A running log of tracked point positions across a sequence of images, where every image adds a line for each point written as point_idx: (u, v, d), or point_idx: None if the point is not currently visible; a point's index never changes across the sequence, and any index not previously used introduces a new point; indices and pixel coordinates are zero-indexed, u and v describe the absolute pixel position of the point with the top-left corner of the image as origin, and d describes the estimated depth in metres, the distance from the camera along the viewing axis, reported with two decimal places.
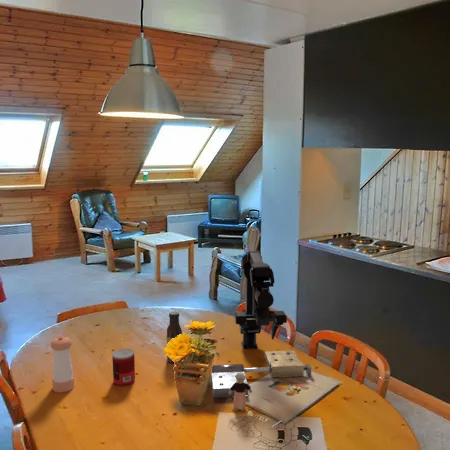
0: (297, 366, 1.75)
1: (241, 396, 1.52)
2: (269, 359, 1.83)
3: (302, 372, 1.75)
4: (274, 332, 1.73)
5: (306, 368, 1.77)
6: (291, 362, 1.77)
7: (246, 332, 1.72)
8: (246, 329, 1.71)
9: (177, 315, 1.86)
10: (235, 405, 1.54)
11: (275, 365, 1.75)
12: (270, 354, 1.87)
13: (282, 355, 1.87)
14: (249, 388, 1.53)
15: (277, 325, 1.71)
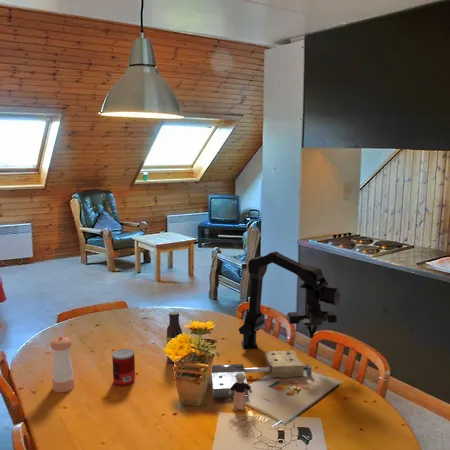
0: (297, 366, 1.75)
1: (241, 396, 1.52)
2: (269, 359, 1.83)
3: (302, 372, 1.75)
4: (313, 331, 1.84)
5: (306, 368, 1.77)
6: (291, 362, 1.77)
7: (310, 331, 1.84)
8: (310, 328, 1.83)
9: (177, 315, 1.86)
10: (235, 405, 1.54)
11: (275, 365, 1.75)
12: (270, 354, 1.87)
13: (282, 355, 1.87)
14: (249, 388, 1.53)
15: (317, 325, 1.82)
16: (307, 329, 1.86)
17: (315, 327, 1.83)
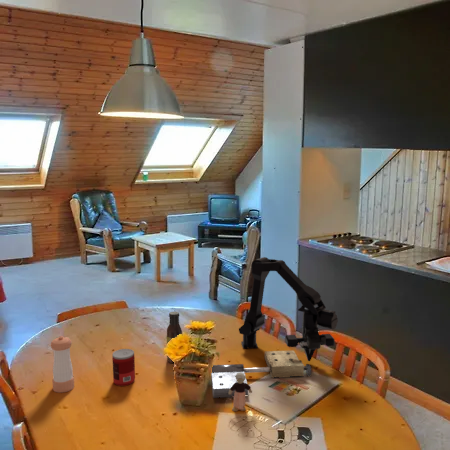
0: (297, 366, 1.75)
1: (241, 396, 1.52)
2: (269, 359, 1.83)
3: (302, 372, 1.75)
4: (311, 354, 1.85)
5: (306, 368, 1.77)
6: (291, 362, 1.77)
7: (307, 353, 1.85)
8: (307, 351, 1.85)
9: (177, 315, 1.86)
10: (235, 405, 1.54)
11: (275, 365, 1.75)
12: (270, 354, 1.87)
13: (282, 355, 1.87)
14: (249, 388, 1.53)
15: (314, 348, 1.84)
16: (305, 352, 1.87)
17: (313, 350, 1.85)
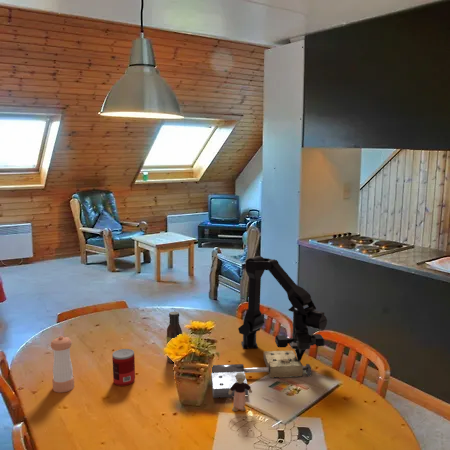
0: (296, 366, 1.75)
1: (241, 396, 1.52)
2: (268, 359, 1.83)
3: (301, 372, 1.75)
4: (301, 355, 1.85)
5: (306, 368, 1.77)
6: (290, 362, 1.77)
7: (297, 354, 1.85)
8: (298, 351, 1.85)
9: (177, 315, 1.86)
10: (235, 405, 1.54)
11: (274, 365, 1.75)
12: (269, 354, 1.87)
13: (281, 355, 1.87)
14: (249, 388, 1.53)
15: (304, 348, 1.84)
16: (295, 352, 1.87)
17: (303, 350, 1.85)
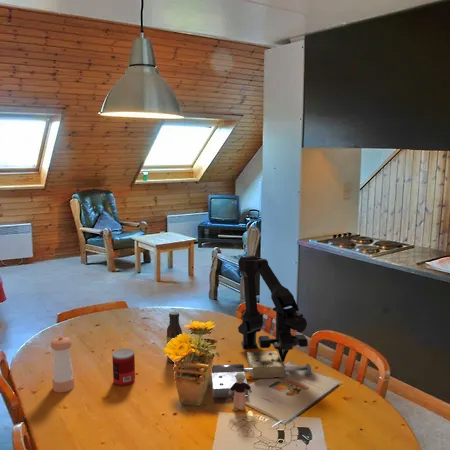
0: (278, 367, 1.74)
1: (241, 396, 1.52)
2: (251, 360, 1.83)
3: (283, 373, 1.75)
4: (284, 355, 1.85)
5: (306, 368, 1.77)
6: (272, 363, 1.77)
7: (281, 354, 1.84)
8: (281, 352, 1.84)
9: (177, 315, 1.86)
10: (235, 405, 1.54)
11: (256, 365, 1.75)
12: (252, 355, 1.87)
13: (264, 355, 1.87)
14: (249, 388, 1.53)
15: (287, 349, 1.83)
16: None
17: (286, 351, 1.84)
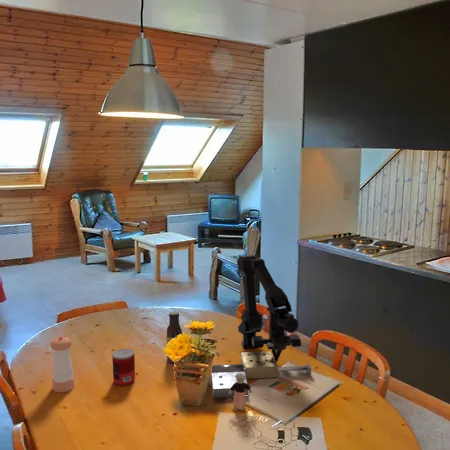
0: (271, 367, 1.74)
1: (241, 396, 1.52)
2: (244, 360, 1.82)
3: (276, 373, 1.75)
4: (278, 355, 1.84)
5: (306, 368, 1.77)
6: (265, 363, 1.77)
7: (274, 355, 1.84)
8: (274, 352, 1.84)
9: (177, 315, 1.86)
10: (235, 405, 1.54)
11: (249, 366, 1.74)
12: (246, 355, 1.87)
13: (258, 355, 1.86)
14: (249, 388, 1.53)
15: (281, 349, 1.83)
16: (272, 353, 1.86)
17: (279, 351, 1.84)
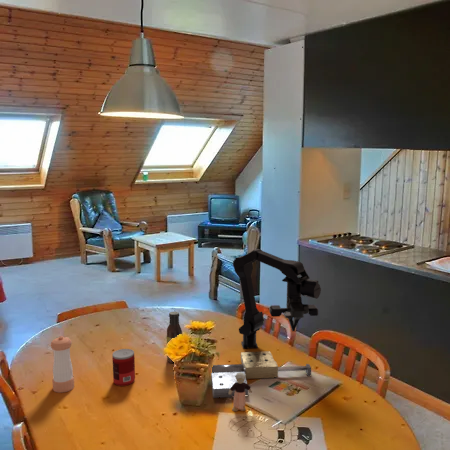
0: (271, 367, 1.74)
1: (241, 396, 1.52)
2: (244, 360, 1.82)
3: (276, 373, 1.75)
4: (295, 324, 1.88)
5: (306, 368, 1.77)
6: (265, 363, 1.77)
7: (291, 324, 1.88)
8: (291, 321, 1.87)
9: (177, 315, 1.86)
10: (235, 405, 1.54)
11: (249, 366, 1.74)
12: (246, 355, 1.87)
13: (258, 355, 1.86)
14: (249, 388, 1.53)
15: (298, 318, 1.86)
16: (289, 322, 1.89)
17: (297, 320, 1.87)
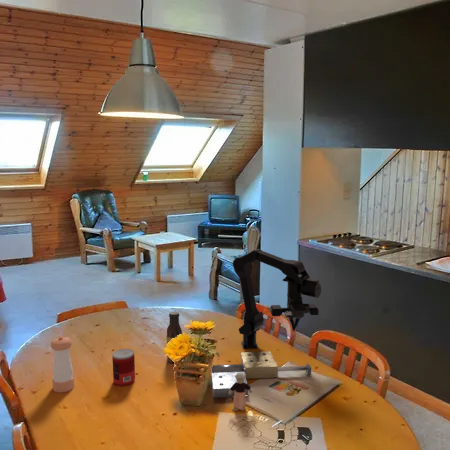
0: (271, 367, 1.74)
1: (241, 396, 1.52)
2: (244, 360, 1.82)
3: (276, 373, 1.75)
4: (296, 324, 1.88)
5: (306, 368, 1.77)
6: (265, 363, 1.77)
7: (292, 323, 1.88)
8: (292, 320, 1.87)
9: (177, 315, 1.86)
10: (235, 405, 1.54)
11: (249, 366, 1.74)
12: (246, 355, 1.87)
13: (258, 355, 1.86)
14: (249, 388, 1.53)
15: (299, 317, 1.86)
16: (290, 321, 1.90)
17: (297, 319, 1.87)
